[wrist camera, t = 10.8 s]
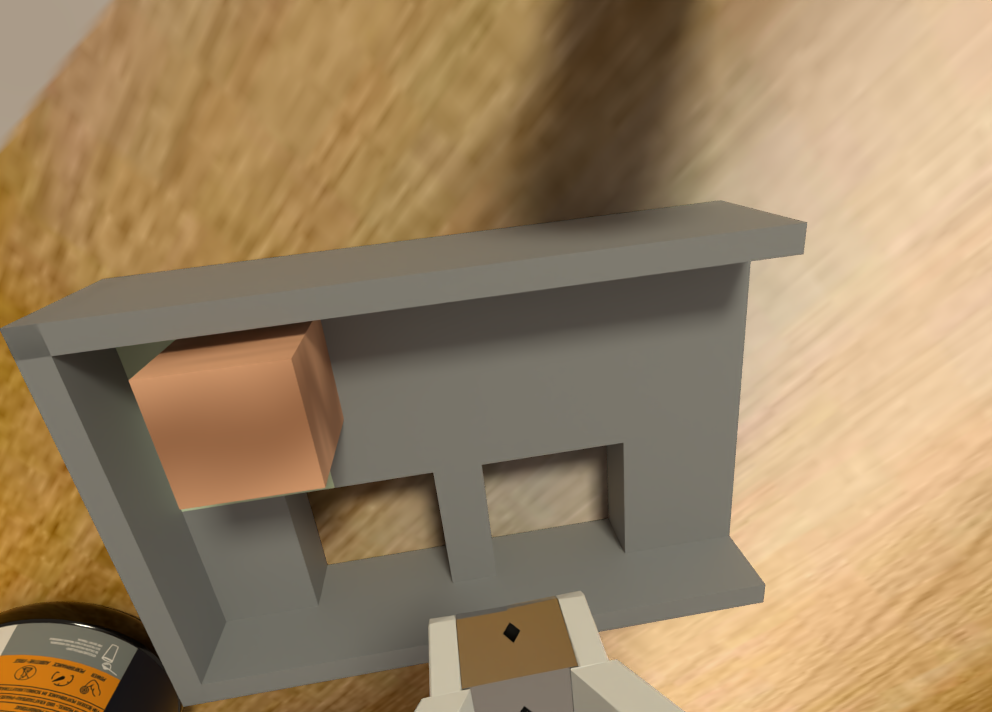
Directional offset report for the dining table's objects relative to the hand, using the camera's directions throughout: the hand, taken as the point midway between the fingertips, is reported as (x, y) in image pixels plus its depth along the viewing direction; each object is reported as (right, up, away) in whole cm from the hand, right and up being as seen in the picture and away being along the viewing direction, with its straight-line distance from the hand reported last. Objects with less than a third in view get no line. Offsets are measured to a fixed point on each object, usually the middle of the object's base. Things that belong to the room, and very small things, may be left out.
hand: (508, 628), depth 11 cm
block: (-8, +5, +10) cm, 14 cm away
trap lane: (-2, +2, +14) cm, 14 cm away
